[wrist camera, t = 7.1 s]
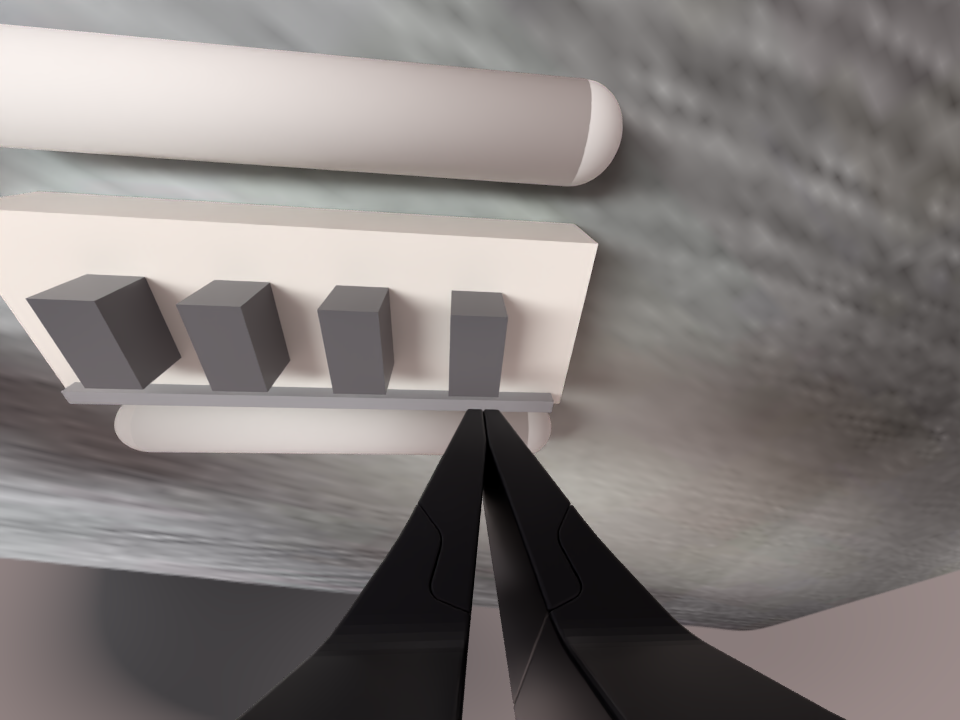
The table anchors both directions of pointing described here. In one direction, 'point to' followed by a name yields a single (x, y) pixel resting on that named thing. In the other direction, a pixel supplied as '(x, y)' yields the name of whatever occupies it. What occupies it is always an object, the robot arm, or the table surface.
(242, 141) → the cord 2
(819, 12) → the table surface
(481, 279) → the breaker strip
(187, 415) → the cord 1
